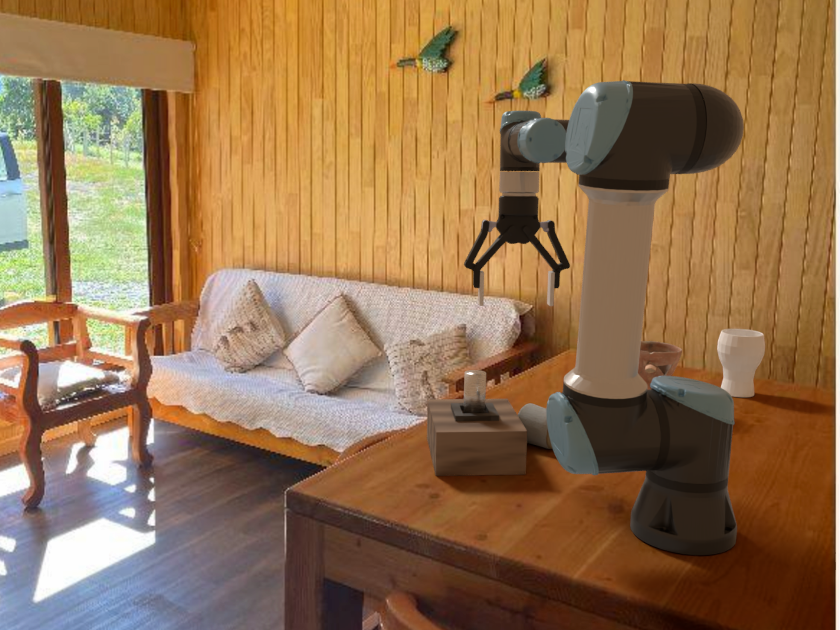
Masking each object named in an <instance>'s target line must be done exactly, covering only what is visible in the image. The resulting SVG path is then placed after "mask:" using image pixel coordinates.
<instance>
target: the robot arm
mask: <svg viewBox="0 0 840 630" xmlns="http://www.w3.org/2000/svg"><path fill="white" fill-rule="evenodd" d="M744 128H745V127H744V118H743V115H742V112H741V109H740V107H739V106H738V104H737V103H736V101H735V100H734V99H732V97H731V96H730V95H728V93H726V92H724V91H722V90H721V89H718V88H717V87H714V86H711V85H707V84H702V83H695V82H694V83H693V82H692V83H689V82H687V83H677V82H676V83H675V82H650V81H634V80H633V81H631V80H630V81H629V80H628V81H627V80H625V79H623V80H615V81H599V82H596V83H595V82H594V83H593V84H591V85H589V86H588V87H586V89H584V90H583V92H582V93H581V94H580V95H579V97H578V99H577V101H576V102H575V105H574V106H573V109H572V111H571V114H570V117H569V119H553V118H551V117H542V116H541V113H540V112H538V111H537V110H509V111H508V110H507V111H505V112H504V113H502V115H501V119H500V128H499V134H500V135H499V136H500V141H499V142H500V145H499V147H500V148H499V150H500V151H499V187H498V192H499V193H501V195H500V196H499V197H498V217H497V220H496V221H492V220H487V219H483V220H482V221H481V224H480V225H481V227H480V231H479V234H478V235H477V238H476V239H475V241H474V243H473V245H472V247H471V249H470V250H469V253H468V254H467V256H466V258H465V260H464V263H463V266H464V267H465V269H469V270H471V271H472V286H473V288H474V289H478V292H477V304H478V306H479V307H483V306H484V303H485V302H484V299H485V297H484V296H485V294H484V292H485V290H484V289H485V271H483V270H482V269H483V268H484V267H485V265H487V263H488V262H490V260H491V258H492V257H494V255H495V254H496V253H497V252H498V251H499V250H500V248H501V247H503V246H504V245H505V243H507V244H510V245H513V244H514V245H516V244H522V245H527V244H528V243H531V245H533V247H534V248H535V250H536V251H537V252H538V253H539V255H540V256H541V257H542V258H543V259H544V261H545V262H546V263H547V264H548V266H549V267H550V268H551V270H548V271H547V293H546V294H547V295H546V296H547V297H546V304H547V305H548V306H549V307H554V303H555V302H554V301H555V300H554V299H555V289H559V288H560V287H561V285H560V284H561V272H562V271H564V270H566V269H567V270H568V269H570V268H571V264H570V262H569V259H568V257H567V255H566V253H565V251H564V248H563V246H562V244H561V242H560V239H559V238H558V235H557V232H556V225H555V224H556V223H555V221H554V220H551V219H548V220H546V221H540V220H539V201H540V200H539V199H540V198H539V197H538V196H537V195H536V194H538V193H539V192H540V170H541V168H540V164H551V163H552V164H554V163H555V164H558V163H559V164H566V165H567V167H568V169H569V170H570V172H572V173H574V174H576V175H578V187H579V188H580V190H581V191H582V192H583V193H584V194H585V195H586V196H587V199H588V206H587V207H588V208H587V215H586V216H587V217H586V219H587V220H586V228H585V229H586V230H585V231H586V232H585V243H584V256H583V270H582V283H581V293H580V294H581V295H580V304H579V305H580V307H579V318H578V328H577V329H578V330H577V331H578V333H577V345H576V357H575V365H574V367H573V368H572V369H571V370H569V372H567V373H566V374H565V375H564V377H563V386H562V392H560V391H556V392H555V393H552V394H551V395H549V396H548V400H547V403H546V407H545V408H546V416H547V426H548V432H549V437H550V441H551V445H552V448H553V449H552V451H553V453H554V455H555V457H556V460H557V462H558V463H559V465H560V466H561V467H562V468H563V470H565V471H566V472H568V473H570V474H573V475H591V476H598V475H604V474H614V473H616V474H618V473H620V474H621V473H635V472H645V476H644V477H645V478H644V480H643V483H642V485H641V487H640V489H639V492H638V495H637V497H636V499H635V501H634V503H633V506H632V509H631V511H630V525H629V526H630V530H631V532H632V534H633V535H634V536H636V537H637V538H638V539H639V540H641V541H642V542H645V543H646V544H647V545H651V546H652V547H655V548H658V549H660V550H664V551H665V552H670V553H675V554H682V555H689V556H708V555H709V556H710V555H715V554H721V553H724V552H727V551H729V550H731V549H732V548H733V547H735V545H736V542H737V533H738V524H737V521H736V516H735V513H734V509H733V506H732V501H731V498H730V497H731V496H730V494H729V487H728V486H729V477H730V476H729V474H730V466H731V465H730V464H731V452H732V439H733V432H734V431H733V428H734V425H735V403H734V402H735V401H734V399H733V396H731V395H730V394H729V393H728V392H727V391H726V390H724V389H722V388H721V386H717V385H715V384H713V383H709V382H706V381H703V380H702V381H701V380H699V379H698V380H697V379H694V378H688V377H684V376H675V375H672V376H658V377H654V378H653V379H652V382H651V383H650V387H651V389H649V390H647V388H648V385H647V383H646V382H645V381H644V380H643V379H642V377H641V376H640V375H639V374H638V366H639V356H640V346H641V341H642V333H643V324H644V317H645V305H646V294H647V285H648V278H649V277H648V276H649V275H648V274H649V266H650V256H651V247H652V236H653V226H654V215H655V206H656V203H657V201H658V200H659V199H660V198H661V197H663V196H664V194H666V193H668V191H669V188H670V187H669V186H670V177H671V175H691V174H692V175H694V174H701V173H705V172H709V171H711V170H714V169H716V168H720V166H722V165H723V164H725V163H726V162H727V161H728V160H730V159H731V158H732V157H733V155H735V153H736V152H737V150H738V148H739V147H740V145H741V142H742V140H743V137H744ZM494 228H496V230H497V231H498V233H499V235H498V236H497V237H496V238H495V240H494V242H493V243H492V244H491V245H489V247H488V248H487V250H486V251H485V252H484V253H483V254H482V255H481V256H480V258H479V259H478V260H477V261H476V262H474V261H475V260H476V258H477V256H478V253H479V252H480V250H481V248H482V247H483V245H484V242H485V240H486V239H487V237H488V234H489V233H491V232H492V231H493V229H494ZM540 228H541V229H542V231H543V232H545V233H546V234H547V236H548V240H549V241H550V244H551V247H552V248H553V250H554V252H555V254H556V256H557V258H558V261H559V263H557V261H556V260H555V259H554V257H552V255H551V254H550V253H549V251H548V250H547V249H546V248H545V246H544V245H543V244H542V243H541V241H540V240H539V238H538V237H537V236H536V234H537V233H538V232H539V231H540Z"/></svg>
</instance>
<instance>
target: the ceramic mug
mask: <svg viewBox="0 0 840 630" xmlns="http://www.w3.org/2000/svg"><path fill="white" fill-rule="evenodd" d="M546 408H547V407H543V406H540V405H537V404H534V403H531V402H530V403H526V404H525V405H523V406H522V407H521V408H520V409H519V412H518V413H517V415H518V417H519V419H520V420H521V422H522V423H523V425H524V427H525V428H526V430H527V444H530V445H534V446H537V447H541V448H544V449H548V450H553V448H552V445H551V441H550V437H549V432H548V426H547V416H546Z"/></svg>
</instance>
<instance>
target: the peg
mask: <svg viewBox="0 0 840 630" xmlns="http://www.w3.org/2000/svg"><path fill="white" fill-rule="evenodd" d="M463 373H464V375H463V378H464V380H463V381H464V382H463V383H464V385H463V399H464V413H485V399H486V393H487V392H486V391H487V389H486V387H487V372H486V371H484V370H481V369H480V370H478V369H471V370H470V369H469V370H466V371H464V372H463Z"/></svg>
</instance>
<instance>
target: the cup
mask: <svg viewBox="0 0 840 630" xmlns="http://www.w3.org/2000/svg"><path fill="white" fill-rule="evenodd" d="M716 348H717V354H718V359H719V361H720V363H721V366H722V373H723V376H722V377H723V378H722V381H721V384H720V385H721V386H720V388H722V389H724V390H726V391H727V392H728V393H729V394H730V395H731V396H732V398H733V397H735V398H751V397H754V396H755V384H754V378H755V373H756V370H757V369H758V367H759V365H760V364H761V363H762V360H763V359H764V356H765V353H766V340H765V335H764V333H763V332H760V331H758V330H753V329H745V328H725V329H721V331H720V333H719V336H718V340H717V347H716Z"/></svg>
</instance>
